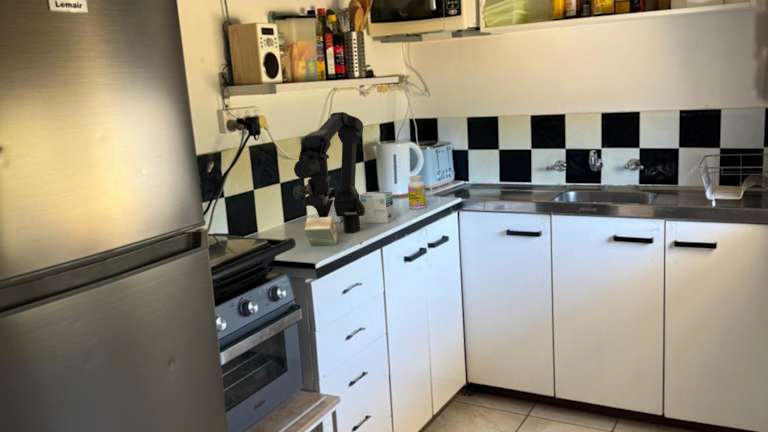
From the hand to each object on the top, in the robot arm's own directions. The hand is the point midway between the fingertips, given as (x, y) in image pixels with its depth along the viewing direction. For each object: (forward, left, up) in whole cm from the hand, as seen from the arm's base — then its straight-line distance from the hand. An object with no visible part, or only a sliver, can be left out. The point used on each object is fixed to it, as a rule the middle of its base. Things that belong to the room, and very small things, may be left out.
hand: (323, 223), depth 227 cm
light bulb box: (-39, +9, -8) cm, 41 cm away
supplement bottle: (-64, +20, -8) cm, 68 cm away
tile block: (+1, 0, -5) cm, 5 cm away
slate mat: (+5, 0, -7) cm, 9 cm away
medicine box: (-44, -8, -8) cm, 46 cm away
